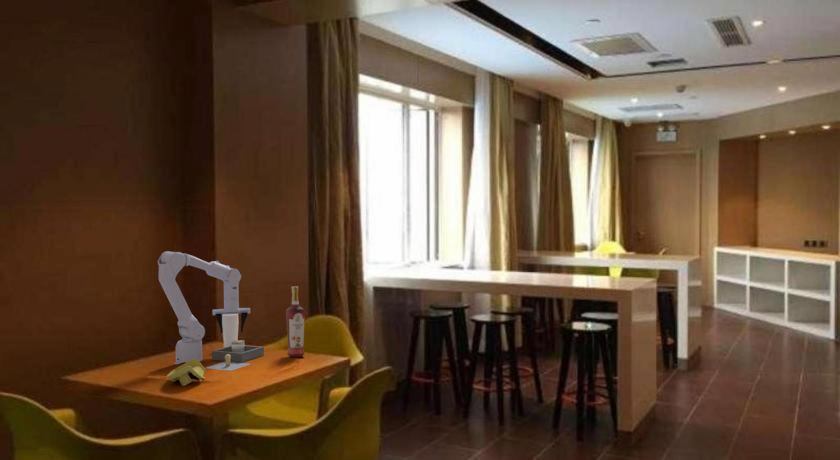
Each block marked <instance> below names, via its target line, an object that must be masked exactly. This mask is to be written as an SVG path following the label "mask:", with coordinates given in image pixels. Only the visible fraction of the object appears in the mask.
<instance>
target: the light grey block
mask: <svg viewBox="0 0 840 460" xmlns="http://www.w3.org/2000/svg"><path fill="white" fill-rule="evenodd" d="M244 345H245V340H244V339H237V340H233V341H232V352H237V353H243V352H244Z"/></svg>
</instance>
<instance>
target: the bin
mask: <svg viewBox="0 0 840 460" xmlns="http://www.w3.org/2000/svg"><path fill="white" fill-rule="evenodd" d="M264 348H265V346H260V345H259V346H256V345H245V344H244V352H243V353H237V352H232V345H231V346H228V347H224V346H223V347H222V348H218V349H215V350H212V351H211V360H212V361H222V362H225V361H226V359H225V355H227V354H229V355H230V356H231V359H230V362H237V363H245V362H247V361H251V360H254V359H256V358H259V357H264V356H265V349H264Z"/></svg>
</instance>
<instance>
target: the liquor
mask: <svg viewBox="0 0 840 460" xmlns="http://www.w3.org/2000/svg"><path fill="white" fill-rule="evenodd" d="M291 294H292V295H291V304H290V305H291V306H290V307H288V308H287V309H285V319H286V320H285V321H286V331H287V351H288V352H287V354H286V355H287V356H288V358H290V359H301V358H302V357H303V356H304V355H305V351H304V347H305V346H304V344H305V343H304V341H305V340H304V339H305V313H306V312H305V310H306V309H305V308H303V307H302V306H300V301H299V286H291Z"/></svg>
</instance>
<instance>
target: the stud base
mask: <svg viewBox="0 0 840 460" xmlns="http://www.w3.org/2000/svg"><path fill="white" fill-rule="evenodd" d="M225 359H226V361H222V362H219V363H216V364H212V365H210V366H206V367H205V369H210V370H220V371H230V372H231V371H235V370H237V369H240V368H243V367H246V366H250V365H251V363H249V362H246V363H245V362H232V361H230V359H231V356H230V355H229V354H227V355H225Z"/></svg>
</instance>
